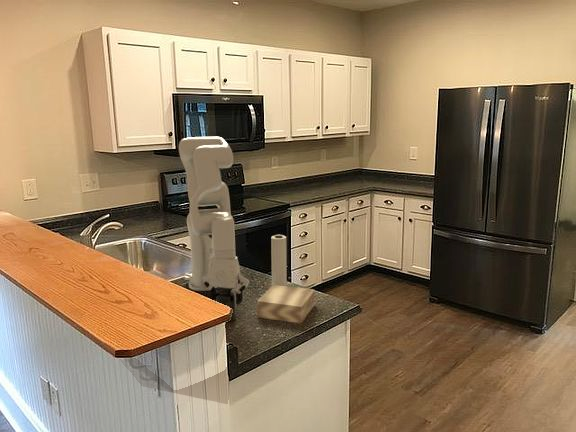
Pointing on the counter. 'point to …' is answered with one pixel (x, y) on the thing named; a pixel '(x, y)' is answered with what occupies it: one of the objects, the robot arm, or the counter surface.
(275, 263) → the paper towel roll
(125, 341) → the counter surface
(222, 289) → the supplement bottle
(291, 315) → the maple block
